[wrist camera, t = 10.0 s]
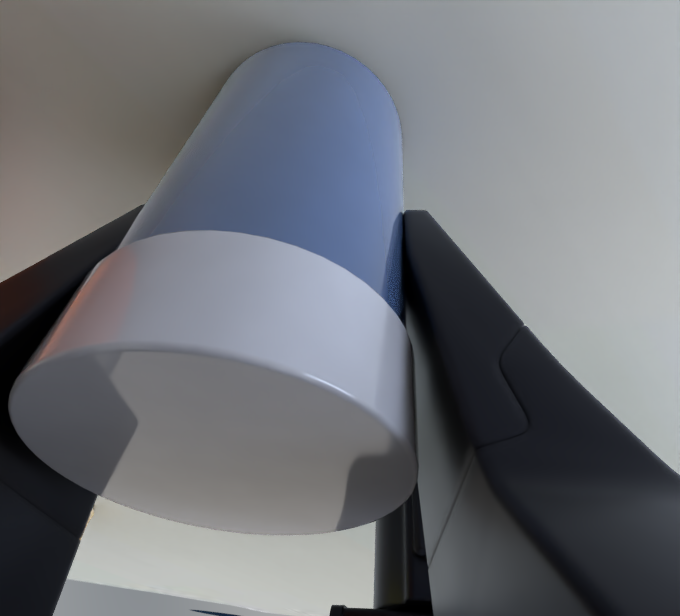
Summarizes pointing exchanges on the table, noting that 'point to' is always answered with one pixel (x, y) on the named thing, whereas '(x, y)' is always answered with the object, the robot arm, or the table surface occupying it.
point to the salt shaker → (248, 319)
